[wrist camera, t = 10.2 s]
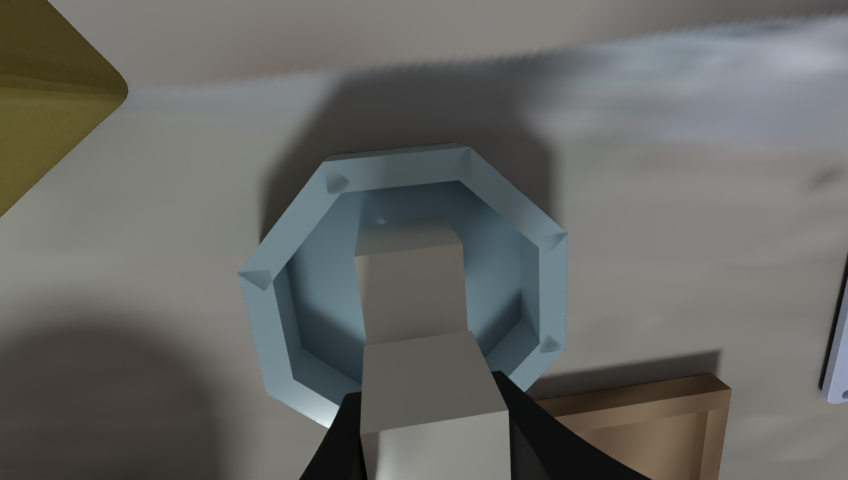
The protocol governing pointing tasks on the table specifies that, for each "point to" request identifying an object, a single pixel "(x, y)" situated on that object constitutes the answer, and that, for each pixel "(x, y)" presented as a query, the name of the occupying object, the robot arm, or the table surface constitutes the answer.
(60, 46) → the flower pot
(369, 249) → the light grey block
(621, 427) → the tray
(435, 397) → the sharp-edged grey cuboid
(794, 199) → the table surface
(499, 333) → the bowl
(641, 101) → the table surface
